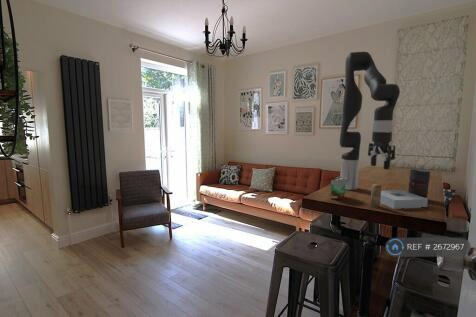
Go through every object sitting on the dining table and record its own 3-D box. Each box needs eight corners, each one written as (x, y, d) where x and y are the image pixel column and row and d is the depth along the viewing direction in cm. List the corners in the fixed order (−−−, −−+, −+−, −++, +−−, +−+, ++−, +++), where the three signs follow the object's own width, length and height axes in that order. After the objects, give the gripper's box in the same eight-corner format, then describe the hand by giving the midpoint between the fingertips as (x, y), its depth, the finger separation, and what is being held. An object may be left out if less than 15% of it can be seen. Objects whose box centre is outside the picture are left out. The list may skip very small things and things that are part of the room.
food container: (342, 201, 120) (343, 181, 118) (330, 199, 123) (330, 180, 122) (349, 196, 129) (350, 177, 128) (337, 194, 133) (337, 176, 132)
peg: (369, 205, 114) (370, 184, 113) (376, 205, 114) (377, 184, 113) (374, 208, 111) (375, 186, 109) (381, 207, 111) (383, 186, 110)
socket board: (371, 198, 125) (371, 190, 124) (400, 197, 127) (400, 189, 126) (393, 208, 109) (394, 200, 109) (427, 207, 111) (427, 198, 110)
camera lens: (419, 202, 118) (421, 171, 116) (403, 197, 126) (406, 168, 124) (431, 200, 120) (434, 170, 118) (415, 196, 128) (418, 168, 126)
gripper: (364, 130, 115) (362, 165, 117) (385, 131, 100) (382, 170, 103) (379, 130, 115) (376, 164, 118) (402, 131, 101) (399, 170, 104)
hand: (379, 167), depth 110 cm, fingers open, 8 cm apart
